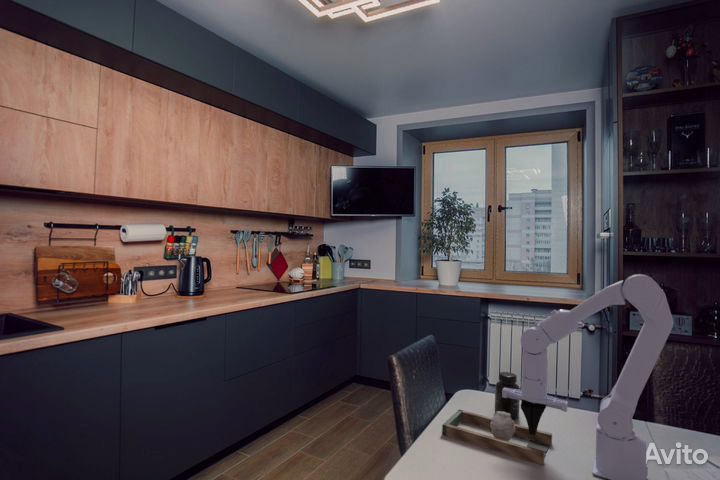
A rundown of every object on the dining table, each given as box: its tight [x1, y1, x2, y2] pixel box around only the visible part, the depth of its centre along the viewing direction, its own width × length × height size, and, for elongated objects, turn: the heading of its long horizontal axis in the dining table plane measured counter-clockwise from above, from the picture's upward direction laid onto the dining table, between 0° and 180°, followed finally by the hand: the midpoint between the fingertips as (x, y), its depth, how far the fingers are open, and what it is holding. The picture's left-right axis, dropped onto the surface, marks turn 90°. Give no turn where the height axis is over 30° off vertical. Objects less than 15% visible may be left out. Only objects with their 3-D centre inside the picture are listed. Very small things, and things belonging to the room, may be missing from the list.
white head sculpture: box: [490, 411, 515, 442], centre depth 101 cm, size 6×7×7 cm
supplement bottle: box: [494, 371, 521, 421], centre depth 117 cm, size 7×7×12 cm
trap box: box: [441, 409, 553, 466], centre depth 102 cm, size 24×12×2 cm, turn 56°
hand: (532, 433), depth 97 cm, fingers closed
